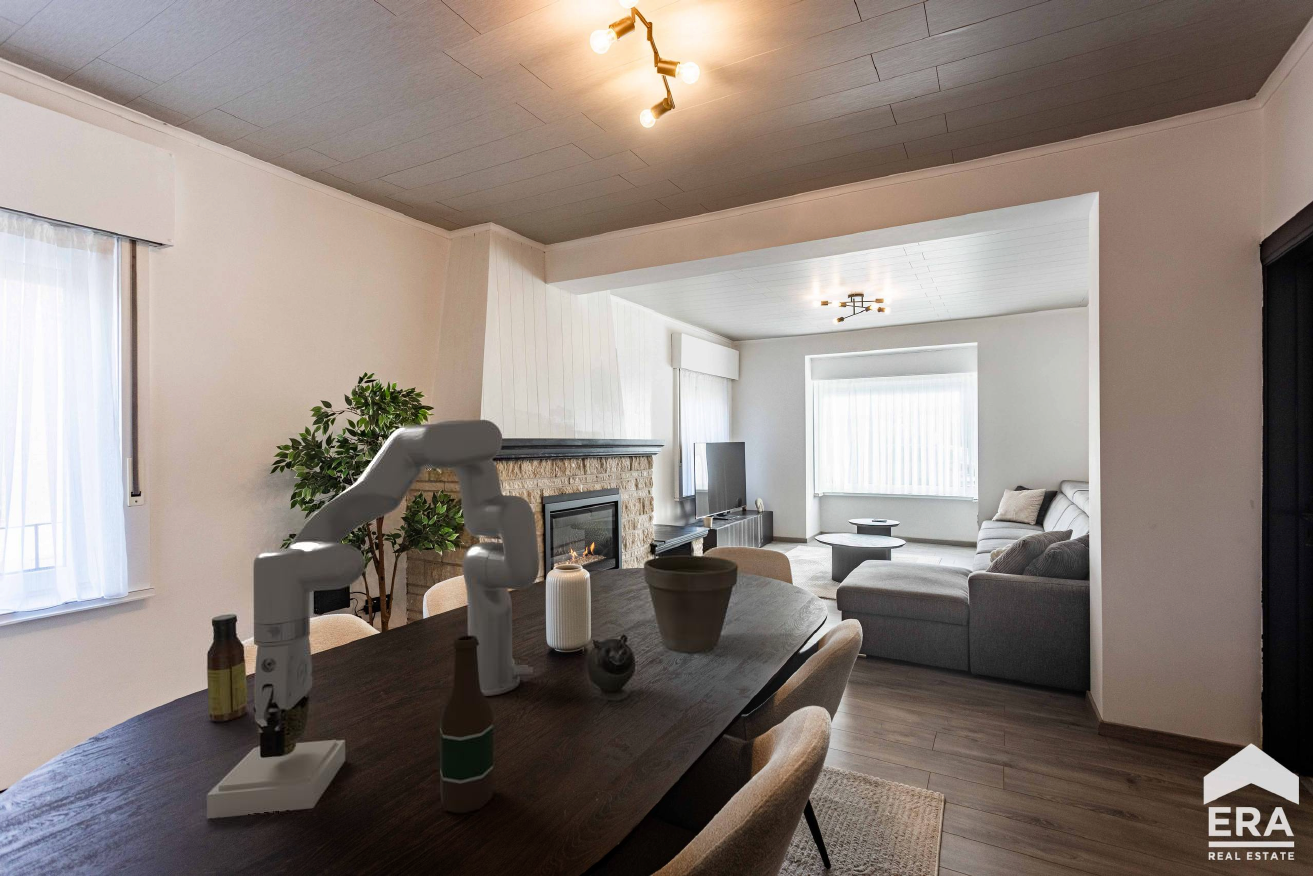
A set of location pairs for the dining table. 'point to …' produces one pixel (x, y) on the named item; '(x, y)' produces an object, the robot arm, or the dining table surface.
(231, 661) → the sauce bottle
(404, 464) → the robot arm
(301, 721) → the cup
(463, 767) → the beer bottle
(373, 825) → the dining table surface
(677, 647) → the plant pot
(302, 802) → the pedestal
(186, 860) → the dining table surface
